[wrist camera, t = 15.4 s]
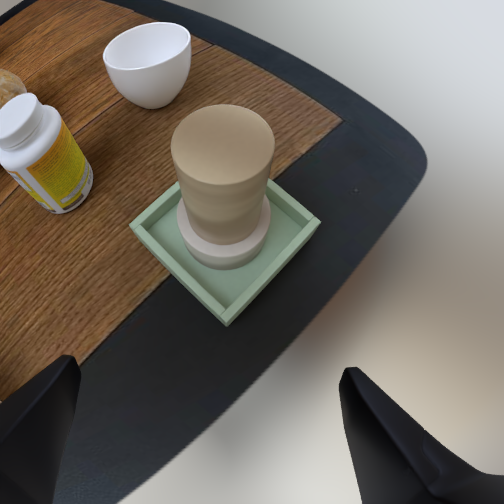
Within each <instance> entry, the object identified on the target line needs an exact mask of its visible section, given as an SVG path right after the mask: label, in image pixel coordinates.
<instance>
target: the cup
mask: <svg viewBox="0 0 504 504" xmlns="http://www.w3.org/2000/svg"><path fill="white" fill-rule="evenodd" d="M103 60H104V63H105V66H106V69H107V72H108V75H109V77H110V79H111V81H112V83H113V85H114V86H115V88H116V89H117V90H118V91H119V92H120V94H121V95H123V96H124V97H125V98H126V99H127V100H129V101H130V102H132V103H134V104H136V105H138V106H140V107H143V108H146V109H157V108H161V107H163V106H166V105H167V104H169V103H170V102H172V101H173V100H174V98H175V97H176V96H177V95H178V93H179V92H180V91H181V89H182V87H183V86H184V84H185V82H186V79H187V77H188V74H189V70H190V66H191V38H190V34H189V32H188V30H187V29H185V28H184V27H182V26H180V25H177V24H174V23H167V22H157V23H149V24H144V25H140V26H137V27H134V28H132V29H129V30H127V31H125V32H123V33H122V34H120V35H118V36H117V37H116V38H114V39H113V40H112V41H111V42H110V43H109V44H108V45H107V47H106V48H105V50H104V53H103Z"/></svg>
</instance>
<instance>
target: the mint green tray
mask: <svg viewBox="0 0 504 504" xmlns="http://www.w3.org/2000/svg"><path fill="white" fill-rule="evenodd" d="M265 195H266V196H267V198H268V201H269V204H270V208H271V221H270V225H269V229H268V232H267V235H266V238H265V242H264V245H263V247H262V249H261V251H260V252H259V254H258V255H257V256H256V257H255V258H254V259H253V260H252V261H251V262H249V263H248V264H246V265H244V266H242V267H240V268H237V269H233V270H215V269H211V268H208V267H206V266H204V265H202V264H200V263H199V262H198V261H196V260H195V259H194V258H193V257H192V256H191V255H190V253H189V252H188V250H187V248H186V246H185V243H184V241H183V238H182V235H181V233H180V230H179V227H178V223H177V208H178V204H179V201H180V199H181V197H182V194H181V190H180V186H179V182H178V181H177V182H176V183H175V184H174V185H173V186H172V187H170V188H169V189H168V190H167V191H166V192H165V193H163V194H162V195H161V196H160V197H159V198H158V199H157V200H156V201H154V202H153V203H152V204H151V205H150V206H149V207H148V208H147V209H146V210H144V211H143V212H142V213H141V214H140V215H139V216H138V217H137V218H136V219H135V220H134V221H132V222H131V223H130V224H129V226H130V228H131V229H132V231H133V232H134V233H135V235H136V236H137V238H138V239H139V240H140V242H141V243H142V244H143V245H144V246H145V247H146V248H147V249H148V250H149V251H150V252H151V253H152V254H153V255H154V256H155V257H156V258H157V259H158V260H159V261H160V262H161V263H162V264H163V265H164V266H165V267H166V269H167V270H168V271H169V272H170V273H171V274H172V275H173V276H174V277H175V278H176V279H177V280H178V281H179V282H180V283H181V284H182V285H183V286H184V287H185V288H186V289H187V290H188V291H189V292H190V293H192V294H193V295H194V296H195V297H196V298H197V299H198V300H199V301H200V302H201V303H202V304H203V305H204V306H205V307H206V308H207V309H208V310H209V311H210V312H211V313H212V314H213V315H214V316H215V317H216V318H217V319H219V320H220V321H221V322H222V323H223V324H224V325H225V326H226V327H227V326H229V325H230V324H231V323H232V322H233V320H234V319H235V318H236V317H237V316H238V315H239V314H240V313H241V312H242V311H243V310H244V309H245V308H246V307H247V306H248V305H249V304H250V303H251V302H252V300H253V299H254V298H255V297H256V296H257V295H258V294H259V293H260V292H261V291H262V290H263V289H264V288H265V287H266V286H267V285H268V283H269V282H270V281H271V280H272V279H273V278H274V277H275V276H276V275H277V274H278V273H279V272H280V271H281V269H282V268H283V267H284V266H285V265H286V264H287V263H288V262H289V261H290V260H291V259H292V258H293V256H294V255H295V254H296V253H297V252H298V251H299V250H300V249H301V248H302V247H303V245H304V244H305V243H306V242H307V241H308V240H309V239H310V238H311V236H312V235H313V233H314V232H315V230H316V229H317V227H318V226H319V224H320V223H321V221H320V220H318V219H317V218H316V217H314V215H313V214H311V213H310V212H309V211H308V210H307V209H305V208H304V207H303V206H302V205H301V204H300V203H298V202H297V201H296V200H295V199H294V198H292V197H291V196H290V195H289V194H288V193H286V192H285V191H284V190H283V189H281V188H280V187H279V186H278V185H277V184H275V183H274V182H273V181H272V180H270V179H269V178H268V182H267V187H266V191H265Z"/></svg>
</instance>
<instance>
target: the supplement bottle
mask: <svg viewBox="0 0 504 504" xmlns="http://www.w3.org/2000/svg"><path fill="white" fill-rule="evenodd" d="M0 164H1V165H2V166H3V168H4V169H5V170H6V171H7V172H8V173H9V174H10V175H11V176H12V177H13V178H14V179H15V180H16V181H17V182H18V183H19V184H20V185H21V186H22V187H23V188H24V189H25V190H26V191H27V192H28V193H29V194H30V195H31V196H32V197H33V198H34V199H35V200H36V201H37V202H38V203H39V204H40V205H42V206H43V207H44V208H45V209H46V210H47V211H49V212H52V213H56V214H61V213H66V212H69V211H71V210H73V209H74V208H76V207H77V206H79V205H80V204H81V203H82V202H83V201H84V199H85V198H86V197H87V195H88V193H89V192H90V189H91V187H92V183H93V172H92V168H91V166H90V164H89V163H88V161H87V159H86V158H85V156H84V155H83V153H82V151H81V150H80V148H79V147H78V145H77V143H76V142H75V140H74V138H73V136H72V135H71V133H70V131H69V130H68V128H67V126H66V125H65V123H64V121H63V120H62V118H61V116H60V114H59V113H58V111H57V110H56V109H55V108H53V107H51V106H48V105H42V104H41V103H40V102H39V101H38V99H37V97H36V96H35V95H34V94H32V93H24V94H21V95H18V96H16V97H14V98H13V99H11V100H10V101H9V102H7V103H6V104H5V105H4V106H3V107H2V108H1V109H0Z"/></svg>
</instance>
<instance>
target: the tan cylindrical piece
mask: <svg viewBox="0 0 504 504" xmlns="http://www.w3.org/2000/svg"><path fill="white" fill-rule="evenodd" d="M274 150H275V139H274V135H273V132H272V130H271V128H270V127H269V125H268V124H267V122H266V121H265V120H264V119H263V118H262V117H260V116H259V115H258V114H256V113H255V112H253V111H251V110H249V109H246V108H243V107H240V106H235V105H213V106H208V107H204V108H202V109H199V110H197V111H195V112H193V113H191V114H190V115H188V116H187V117H186V118H184V119H183V120H182V121H181V122H180V124H179V125H178V126H177V128H176V130H175V131H174V133H173V136H172V140H171V154H172V158H173V162H174V166H175V170H176V174H177V178H178V182H179V186H180V190H181V194H182V197H181V199H180V201H179V204H178V208H177V223H178V227H179V230H180V233H181V235H182V238H183V241H184V243H185V246H186V248H187V250H188V252H189V253H190V255H191V256H192V257H193V258H194V259H195V260H196V261H198V262H199V263H200V264H202V265H204V266H206V267H208V268H211V269H215V270H233V269H237V268H240V267H242V266H244V265H246V264H248V263H249V262H251V261H252V260H253V259H254V258H255V257H256V256H257V255H258V254H259V252H260V251H261V249H262V247H263V245H264V242H265V238H266V235H267V232H268V229H269V225H270V221H271V208H270V204H269V201H268V198H267V196H266V195H265V191H266V187H267V182H268V178H269V173H270V169H271V164H272V160H273V155H274Z"/></svg>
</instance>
